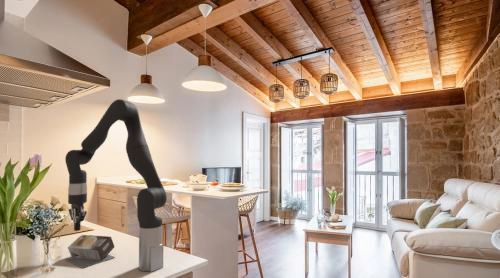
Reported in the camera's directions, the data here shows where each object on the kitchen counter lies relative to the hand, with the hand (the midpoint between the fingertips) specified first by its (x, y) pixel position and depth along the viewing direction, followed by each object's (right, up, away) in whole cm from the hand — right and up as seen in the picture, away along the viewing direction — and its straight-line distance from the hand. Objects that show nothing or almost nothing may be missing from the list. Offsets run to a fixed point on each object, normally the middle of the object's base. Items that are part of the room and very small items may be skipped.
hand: (77, 230), depth 136 cm
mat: (+8, -12, -4) cm, 15 cm away
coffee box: (0, -7, 0) cm, 7 cm away
